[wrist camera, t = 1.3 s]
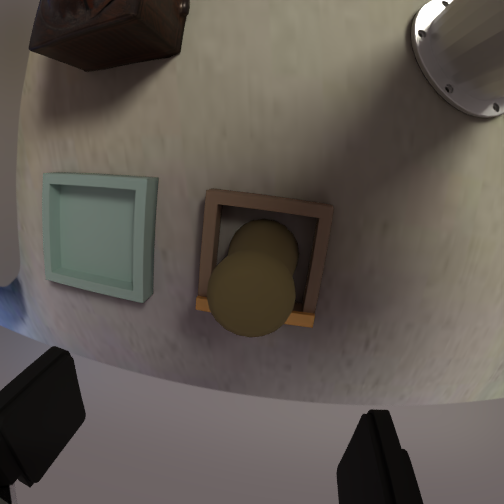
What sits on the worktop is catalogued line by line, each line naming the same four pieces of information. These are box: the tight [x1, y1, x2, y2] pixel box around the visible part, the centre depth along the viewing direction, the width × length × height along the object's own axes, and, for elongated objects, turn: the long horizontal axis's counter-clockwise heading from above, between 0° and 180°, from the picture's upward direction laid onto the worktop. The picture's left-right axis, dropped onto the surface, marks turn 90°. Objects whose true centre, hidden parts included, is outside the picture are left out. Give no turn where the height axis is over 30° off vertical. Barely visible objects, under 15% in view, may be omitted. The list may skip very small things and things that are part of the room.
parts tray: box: [42, 172, 158, 303], centre depth 28 cm, size 12×11×2 cm
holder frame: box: [196, 189, 334, 328], centre depth 27 cm, size 10×10×2 cm
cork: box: [207, 219, 299, 337], centre depth 23 cm, size 6×6×11 cm
